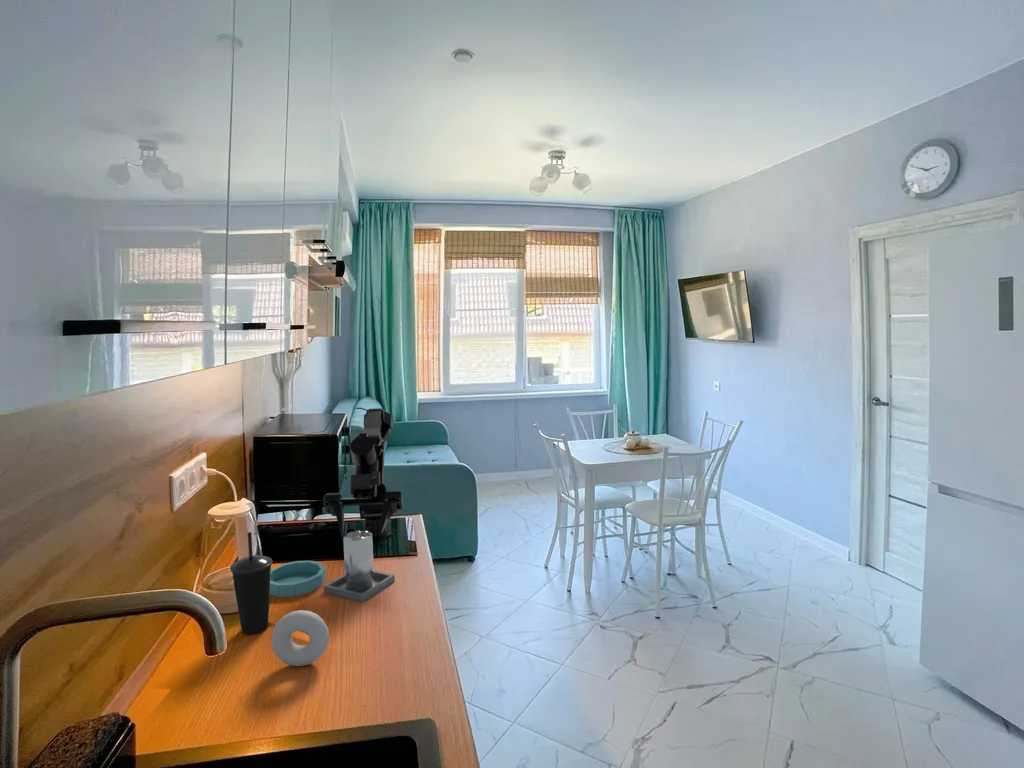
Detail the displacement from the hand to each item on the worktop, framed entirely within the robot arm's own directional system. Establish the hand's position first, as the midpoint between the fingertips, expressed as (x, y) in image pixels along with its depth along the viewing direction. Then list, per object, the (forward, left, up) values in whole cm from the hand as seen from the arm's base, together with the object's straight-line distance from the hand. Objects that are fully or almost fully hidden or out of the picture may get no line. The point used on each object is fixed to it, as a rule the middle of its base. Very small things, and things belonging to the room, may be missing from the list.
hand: (361, 533), depth 131 cm
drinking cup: (+26, -5, -12) cm, 29 cm away
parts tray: (+4, +3, -11) cm, 13 cm away
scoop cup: (+4, +3, -11) cm, 12 cm away
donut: (+31, +13, -12) cm, 36 cm away
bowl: (+9, -12, -11) cm, 19 cm away
